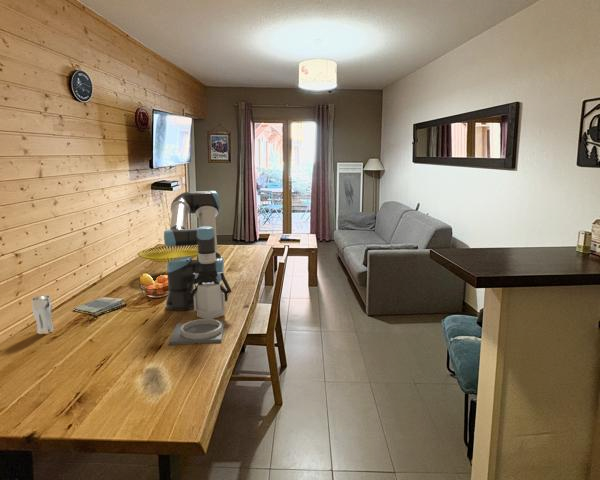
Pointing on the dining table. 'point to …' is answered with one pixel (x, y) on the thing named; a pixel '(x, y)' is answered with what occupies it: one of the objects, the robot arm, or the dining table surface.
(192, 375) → the dining table surface
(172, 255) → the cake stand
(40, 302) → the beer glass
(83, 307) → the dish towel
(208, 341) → the bottle holder
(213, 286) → the supplement box
